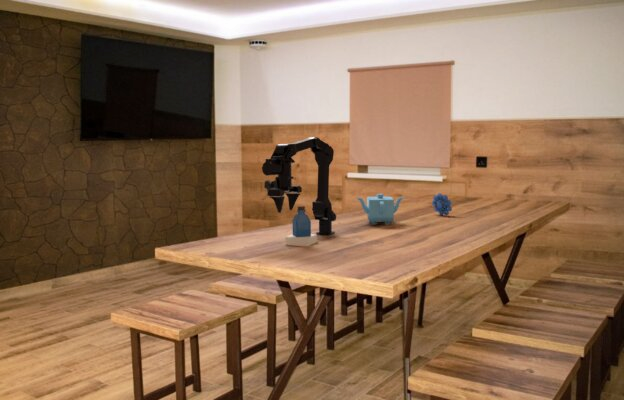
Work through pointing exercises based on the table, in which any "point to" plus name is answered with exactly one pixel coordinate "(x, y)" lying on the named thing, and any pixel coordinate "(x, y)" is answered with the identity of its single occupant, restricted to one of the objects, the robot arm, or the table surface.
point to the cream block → (301, 240)
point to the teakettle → (380, 208)
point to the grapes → (441, 204)
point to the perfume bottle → (301, 223)
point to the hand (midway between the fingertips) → (285, 211)
